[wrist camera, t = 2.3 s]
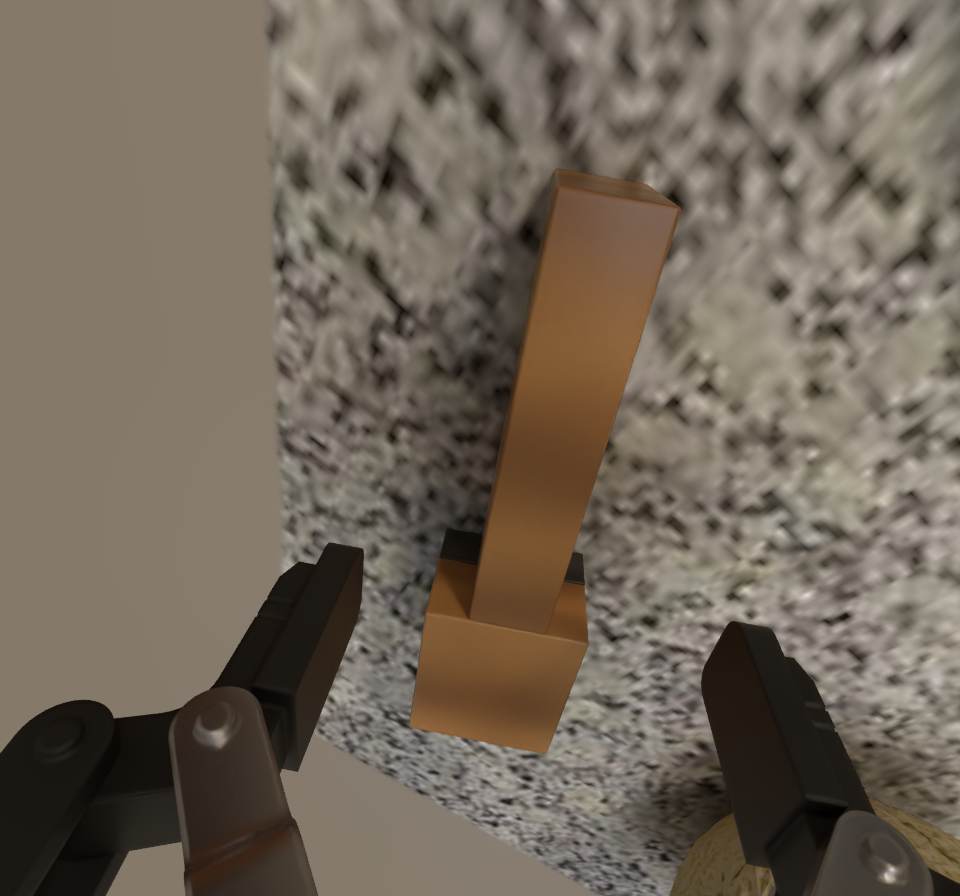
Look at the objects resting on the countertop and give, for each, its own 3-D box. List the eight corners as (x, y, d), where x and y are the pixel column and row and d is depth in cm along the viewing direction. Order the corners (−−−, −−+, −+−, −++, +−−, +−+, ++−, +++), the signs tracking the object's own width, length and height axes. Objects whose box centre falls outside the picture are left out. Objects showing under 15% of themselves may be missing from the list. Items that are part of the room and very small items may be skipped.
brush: (503, 158, 14) (487, 172, 10) (702, 194, 14) (752, 220, 10) (429, 638, 23) (408, 728, 20) (547, 660, 23) (546, 755, 20)
